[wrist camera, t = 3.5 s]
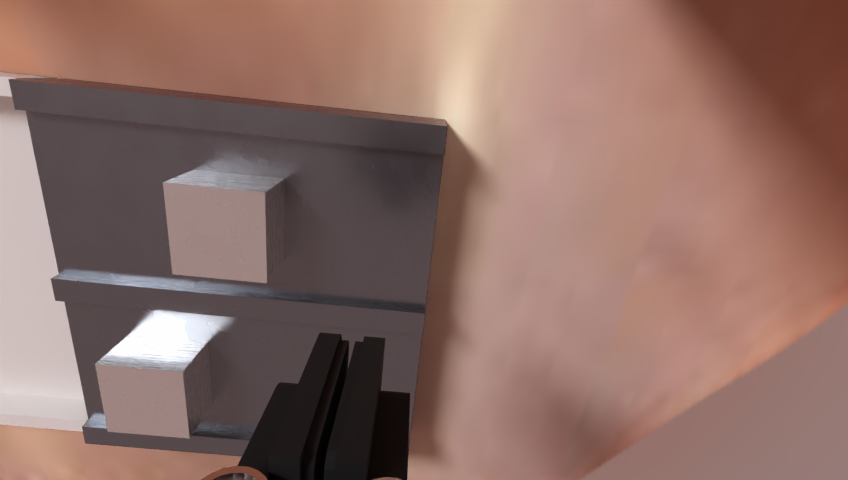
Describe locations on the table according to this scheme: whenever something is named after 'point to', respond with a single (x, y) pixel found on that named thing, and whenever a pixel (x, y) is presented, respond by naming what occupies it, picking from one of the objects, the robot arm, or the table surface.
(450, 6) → the table surface
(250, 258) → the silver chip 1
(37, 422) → the tray
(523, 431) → the table surface
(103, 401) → the grey square block
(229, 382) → the slot block
